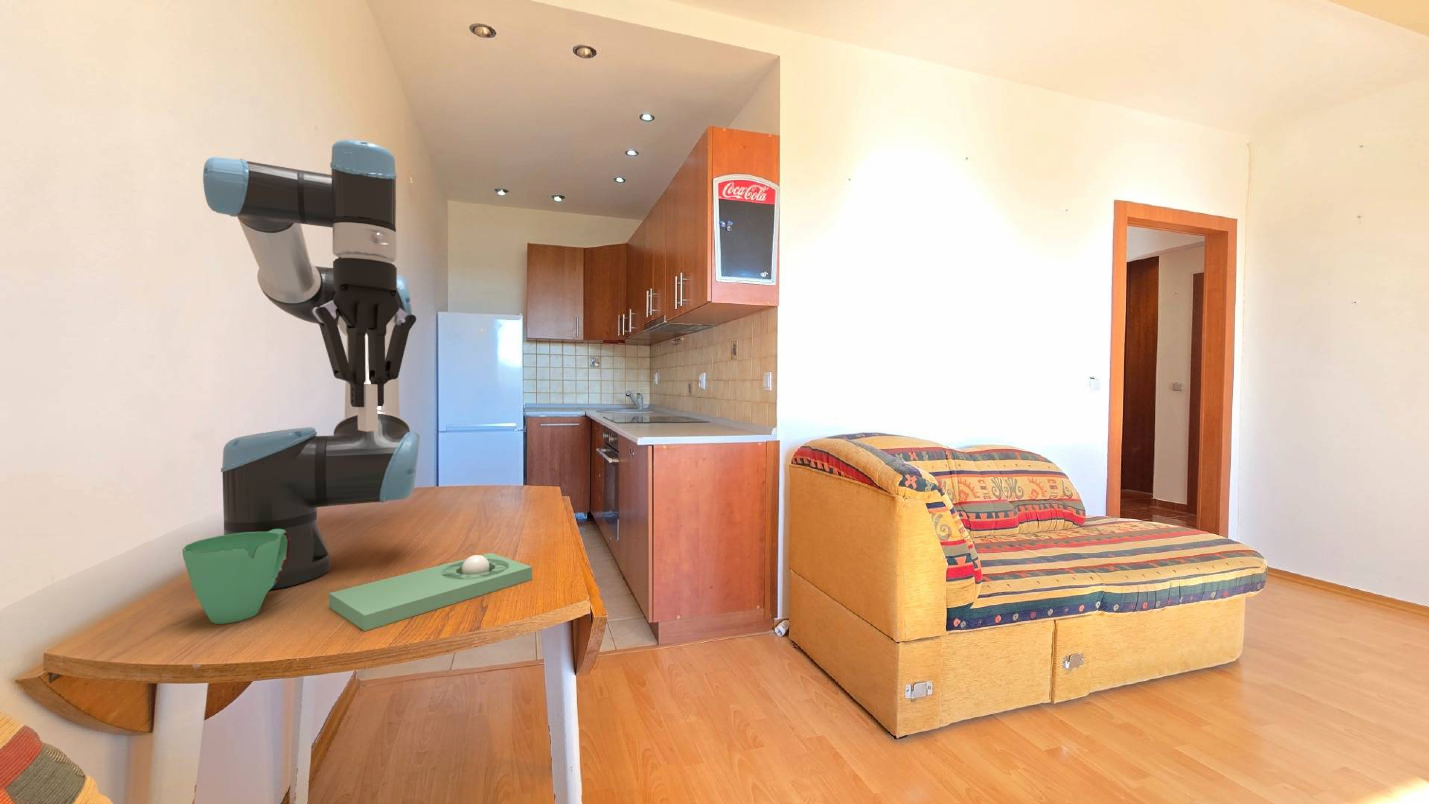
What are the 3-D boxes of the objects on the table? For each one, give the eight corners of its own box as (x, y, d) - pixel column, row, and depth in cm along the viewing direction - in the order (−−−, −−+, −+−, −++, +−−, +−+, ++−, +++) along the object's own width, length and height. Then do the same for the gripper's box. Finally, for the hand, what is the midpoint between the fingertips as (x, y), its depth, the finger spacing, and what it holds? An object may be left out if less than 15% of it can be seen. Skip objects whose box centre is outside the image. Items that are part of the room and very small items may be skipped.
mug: (248, 631, 70) (246, 551, 70) (162, 633, 69) (160, 553, 69) (318, 588, 85) (317, 522, 84) (248, 590, 84) (247, 523, 83)
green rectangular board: (364, 631, 70) (364, 615, 70) (329, 607, 77) (328, 593, 77) (532, 579, 89) (531, 566, 89) (490, 564, 96) (490, 552, 96)
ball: (456, 582, 88) (458, 556, 89) (481, 580, 91) (482, 554, 91) (468, 582, 85) (469, 555, 86) (493, 580, 88) (494, 554, 89)
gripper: (322, 249, 70) (326, 436, 72) (426, 266, 81) (427, 429, 82) (299, 255, 75) (303, 431, 76) (400, 270, 85) (402, 424, 87)
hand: (367, 430), depth 79 cm, fingers closed
